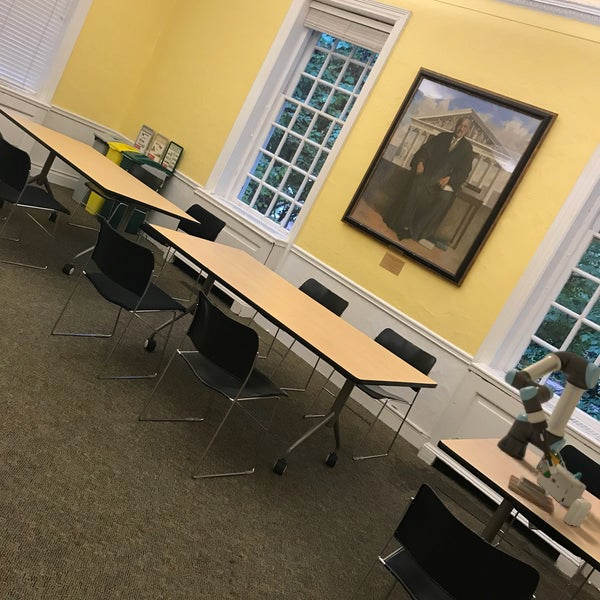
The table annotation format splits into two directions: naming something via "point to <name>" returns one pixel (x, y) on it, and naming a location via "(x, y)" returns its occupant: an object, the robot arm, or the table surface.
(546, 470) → the crayon box
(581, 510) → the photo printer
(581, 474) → the teal l-shaped bracket
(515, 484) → the walnut crayon stand
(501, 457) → the table surface
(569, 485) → the stereo radio cassette player
